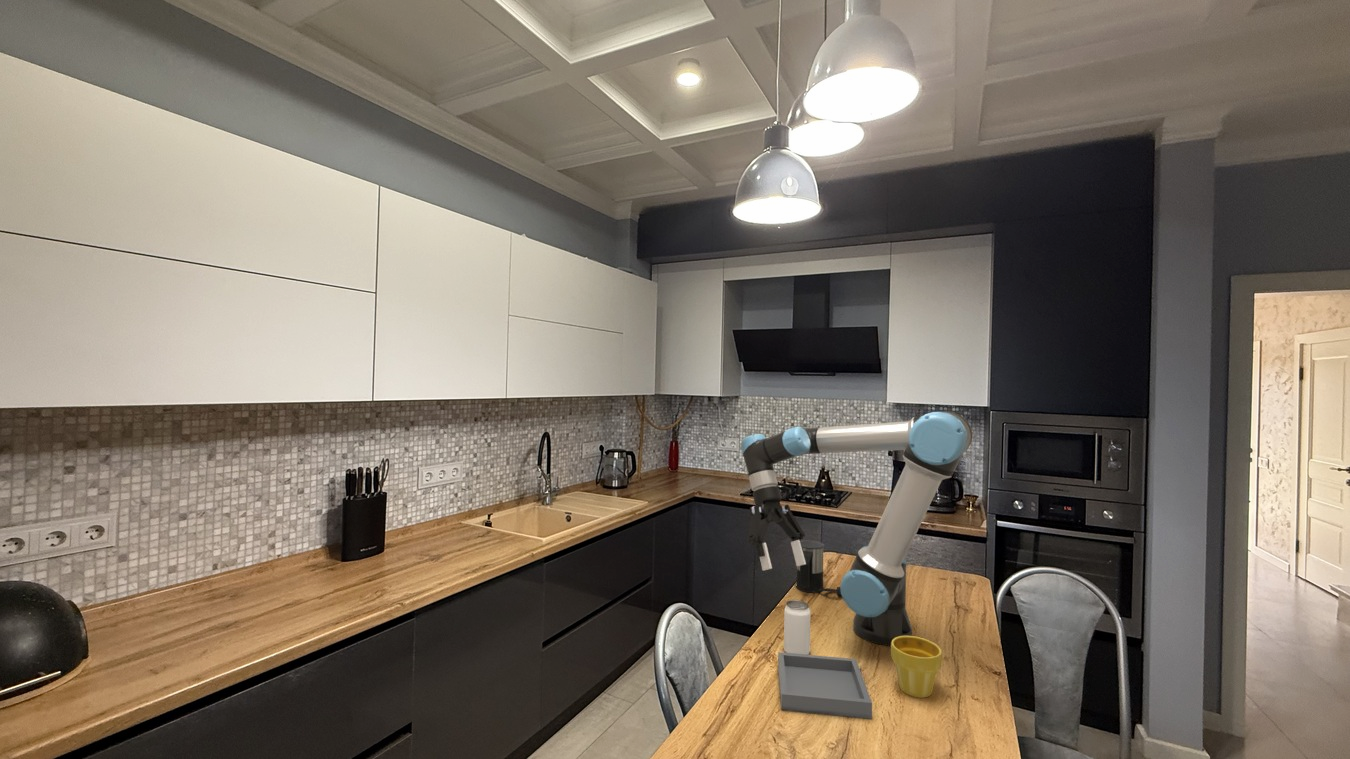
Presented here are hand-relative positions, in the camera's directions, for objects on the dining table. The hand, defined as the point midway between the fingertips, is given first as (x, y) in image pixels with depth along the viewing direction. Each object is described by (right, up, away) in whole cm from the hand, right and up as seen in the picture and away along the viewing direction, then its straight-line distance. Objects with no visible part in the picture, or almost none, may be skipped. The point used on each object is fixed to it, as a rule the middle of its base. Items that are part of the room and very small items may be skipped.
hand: (784, 567), depth 144 cm
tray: (+3, -19, -24) cm, 31 cm away
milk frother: (+19, -20, +35) cm, 45 cm away
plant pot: (+25, -20, -23) cm, 39 cm away
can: (+2, -19, -6) cm, 20 cm away
